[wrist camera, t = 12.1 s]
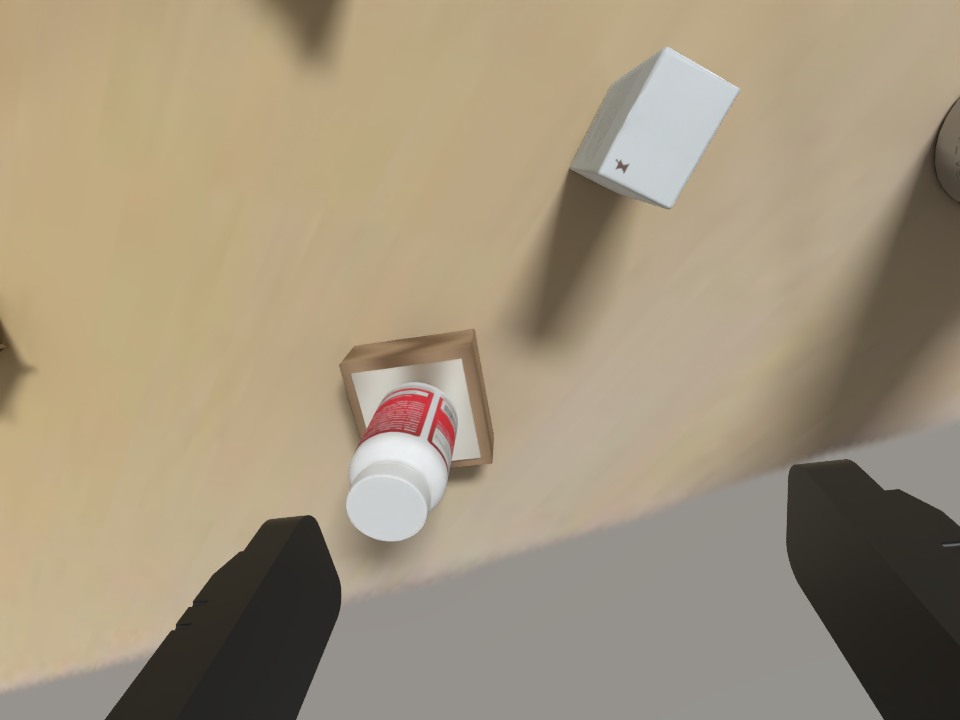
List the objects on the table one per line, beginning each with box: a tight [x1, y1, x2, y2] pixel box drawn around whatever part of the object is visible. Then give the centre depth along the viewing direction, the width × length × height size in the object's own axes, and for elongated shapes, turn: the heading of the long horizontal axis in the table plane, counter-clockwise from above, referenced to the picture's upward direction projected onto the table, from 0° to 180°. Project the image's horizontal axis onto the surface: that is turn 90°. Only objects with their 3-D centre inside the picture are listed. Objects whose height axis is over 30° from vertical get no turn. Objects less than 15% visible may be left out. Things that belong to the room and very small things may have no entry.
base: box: [339, 329, 494, 468], centre depth 41 cm, size 10×10×4 cm
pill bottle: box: [346, 382, 458, 541], centre depth 34 cm, size 6×6×11 cm
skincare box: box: [570, 47, 740, 209], centre depth 29 cm, size 6×4×12 cm
